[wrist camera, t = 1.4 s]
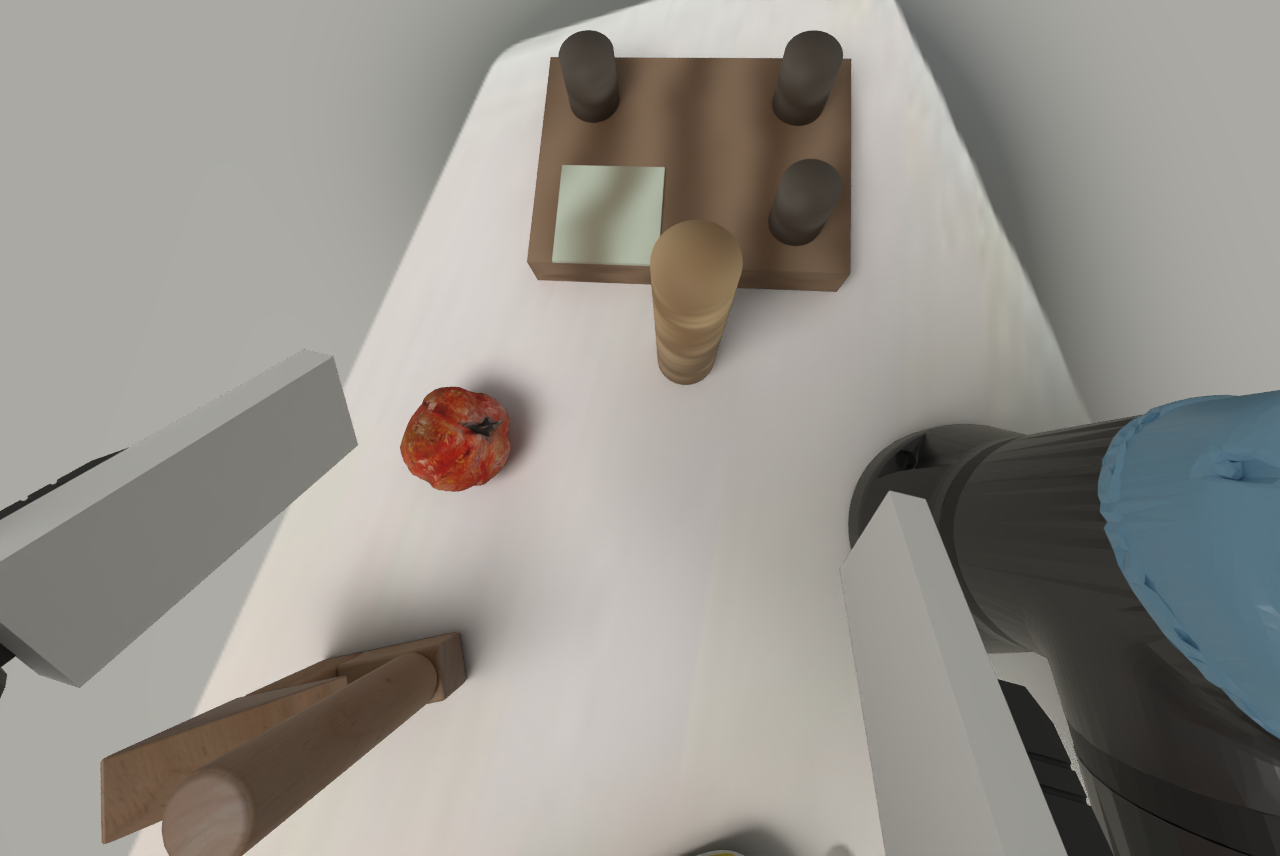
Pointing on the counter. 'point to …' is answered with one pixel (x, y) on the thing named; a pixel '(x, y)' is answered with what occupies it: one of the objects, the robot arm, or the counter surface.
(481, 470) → the pomegranate
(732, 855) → the air freshener
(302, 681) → the brown wooden angled piece
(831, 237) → the wooden board with knobs
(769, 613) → the counter surface
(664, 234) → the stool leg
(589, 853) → the counter surface
